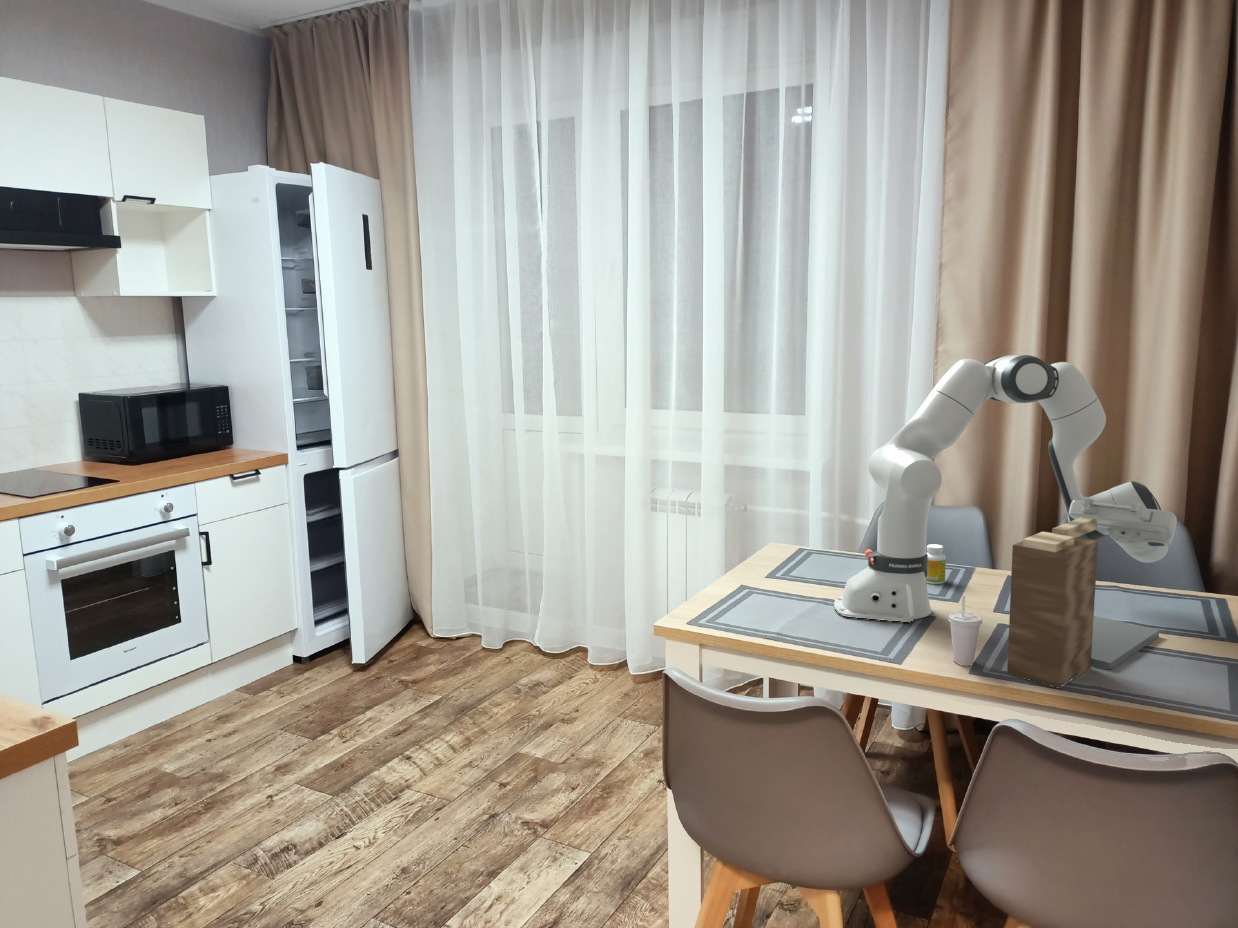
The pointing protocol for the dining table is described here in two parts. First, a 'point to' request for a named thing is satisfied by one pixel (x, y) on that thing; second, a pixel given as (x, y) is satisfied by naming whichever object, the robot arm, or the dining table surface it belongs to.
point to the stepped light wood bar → (1061, 535)
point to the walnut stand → (1052, 612)
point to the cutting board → (1117, 641)
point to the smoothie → (964, 635)
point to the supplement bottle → (936, 564)
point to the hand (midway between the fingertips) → (1110, 504)
